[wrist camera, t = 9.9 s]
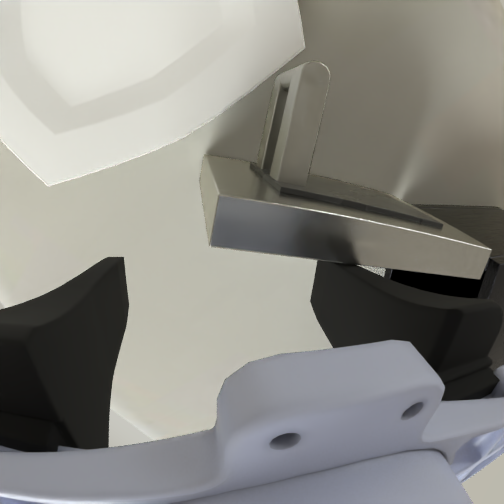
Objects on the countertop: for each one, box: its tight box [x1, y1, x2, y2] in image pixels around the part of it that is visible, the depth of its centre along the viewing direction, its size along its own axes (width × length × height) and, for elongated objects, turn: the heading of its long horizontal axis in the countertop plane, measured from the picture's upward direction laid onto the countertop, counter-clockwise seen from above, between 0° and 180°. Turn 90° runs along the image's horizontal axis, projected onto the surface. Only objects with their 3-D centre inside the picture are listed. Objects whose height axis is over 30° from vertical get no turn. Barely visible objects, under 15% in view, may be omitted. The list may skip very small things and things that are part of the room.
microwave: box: [384, 204, 504, 371], centre depth 21 cm, size 15×18×10 cm
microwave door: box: [199, 61, 492, 280], centre depth 14 cm, size 7×13×10 cm, turn 78°
